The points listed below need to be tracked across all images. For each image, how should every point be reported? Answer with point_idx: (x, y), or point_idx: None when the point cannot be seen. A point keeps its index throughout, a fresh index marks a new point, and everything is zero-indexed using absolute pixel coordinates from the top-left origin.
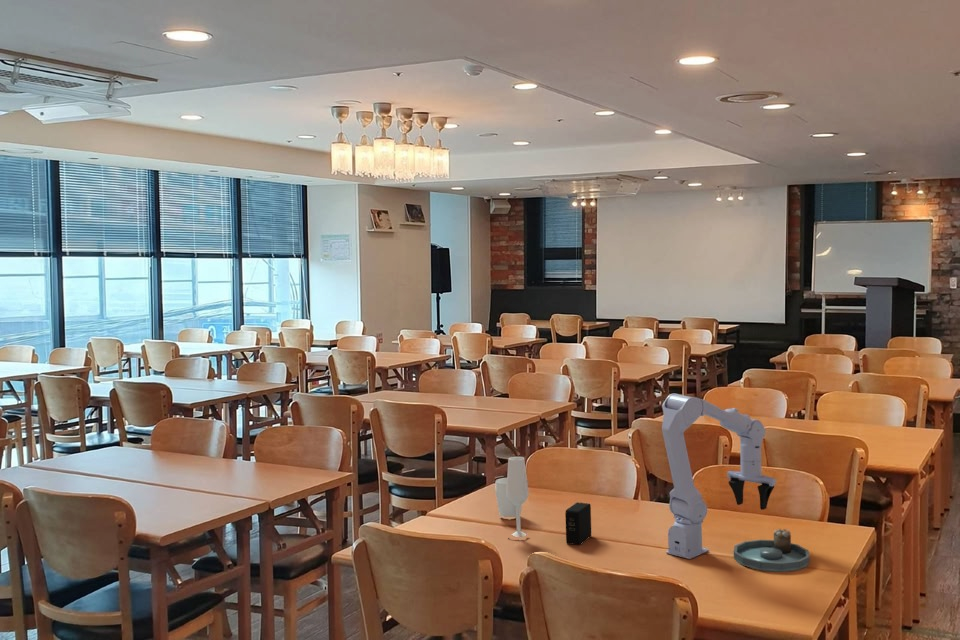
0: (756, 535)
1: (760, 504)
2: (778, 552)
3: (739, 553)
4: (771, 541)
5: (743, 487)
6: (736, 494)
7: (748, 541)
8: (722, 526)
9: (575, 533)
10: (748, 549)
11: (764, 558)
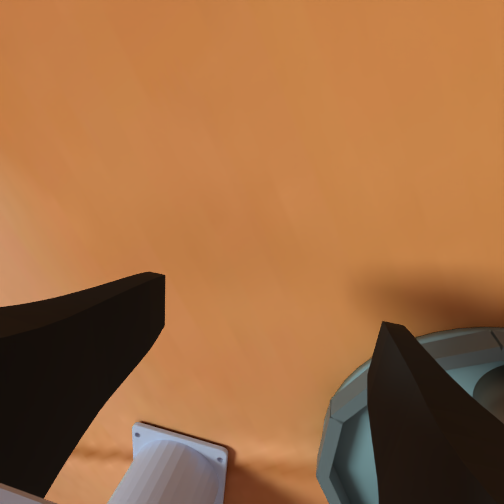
0: (296, 173)
1: (374, 420)
2: None
3: (344, 470)
4: (451, 367)
5: (54, 324)
6: (99, 401)
7: (345, 410)
8: (95, 125)
9: None
10: (358, 422)
11: None
